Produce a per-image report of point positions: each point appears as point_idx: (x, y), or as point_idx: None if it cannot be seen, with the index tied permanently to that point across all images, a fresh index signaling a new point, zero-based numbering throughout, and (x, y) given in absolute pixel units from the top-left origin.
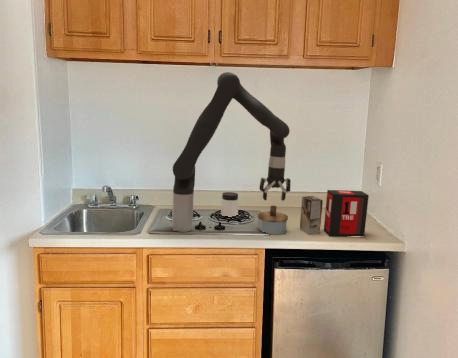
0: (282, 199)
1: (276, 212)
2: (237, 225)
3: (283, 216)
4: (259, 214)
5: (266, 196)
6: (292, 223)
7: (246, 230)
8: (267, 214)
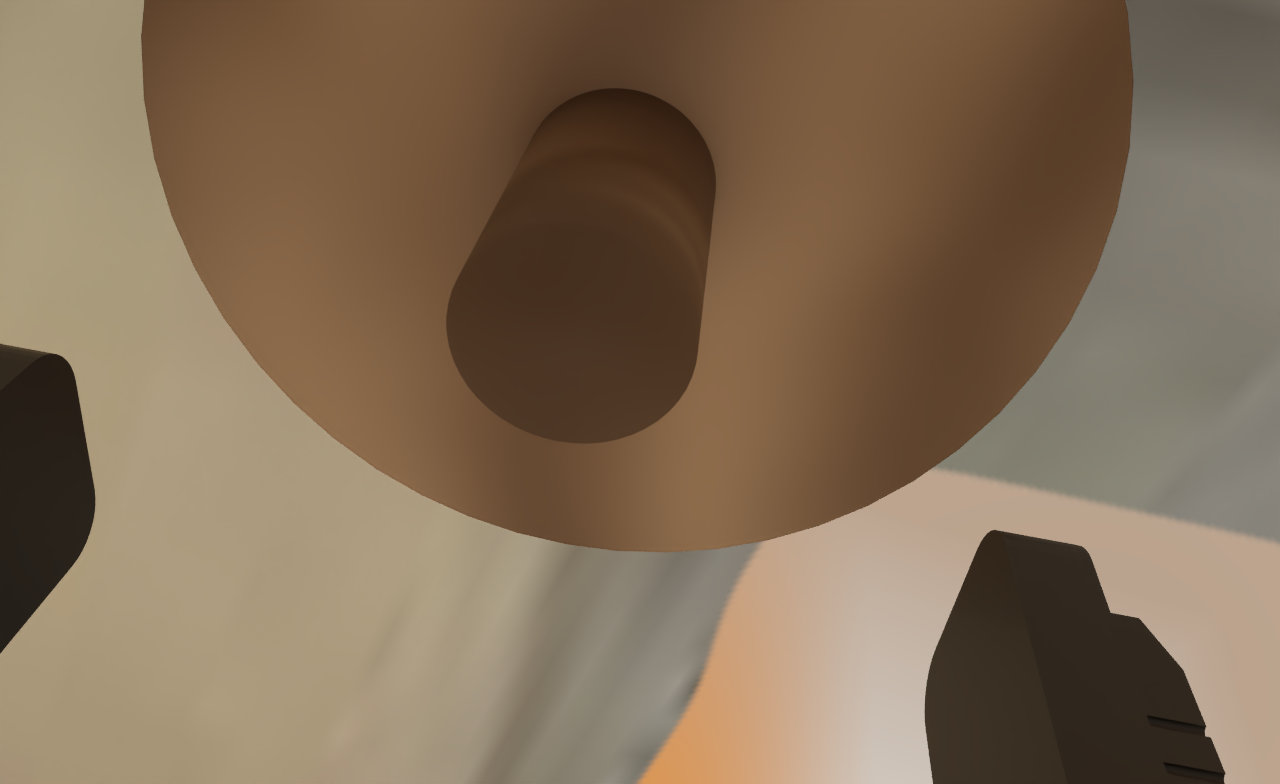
0: (36, 405)
1: (384, 428)
2: (1215, 493)
3: (301, 3)
4: (983, 370)
5: (1069, 692)
6: (59, 352)
7: (1257, 170)
8: (739, 317)
